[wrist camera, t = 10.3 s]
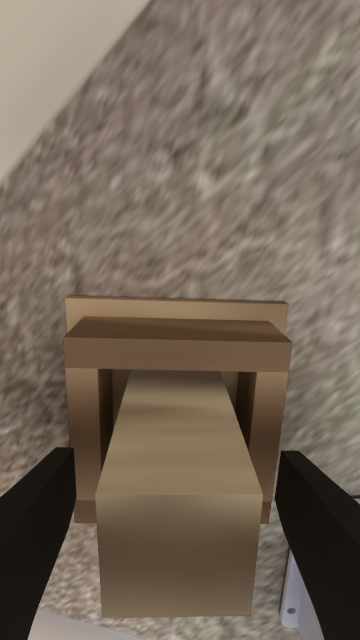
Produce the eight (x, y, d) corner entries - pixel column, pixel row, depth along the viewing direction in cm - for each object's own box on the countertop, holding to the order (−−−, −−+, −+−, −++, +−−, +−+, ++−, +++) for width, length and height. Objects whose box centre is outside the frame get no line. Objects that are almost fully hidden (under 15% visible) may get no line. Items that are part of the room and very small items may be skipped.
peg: (213, 436, 17) (250, 615, 9) (134, 437, 17) (102, 618, 9) (217, 363, 16) (263, 494, 8) (132, 362, 16) (95, 495, 8)
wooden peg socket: (262, 479, 18) (284, 538, 15) (79, 477, 18) (57, 537, 14) (284, 301, 16) (316, 322, 12) (69, 295, 15) (38, 315, 12)
